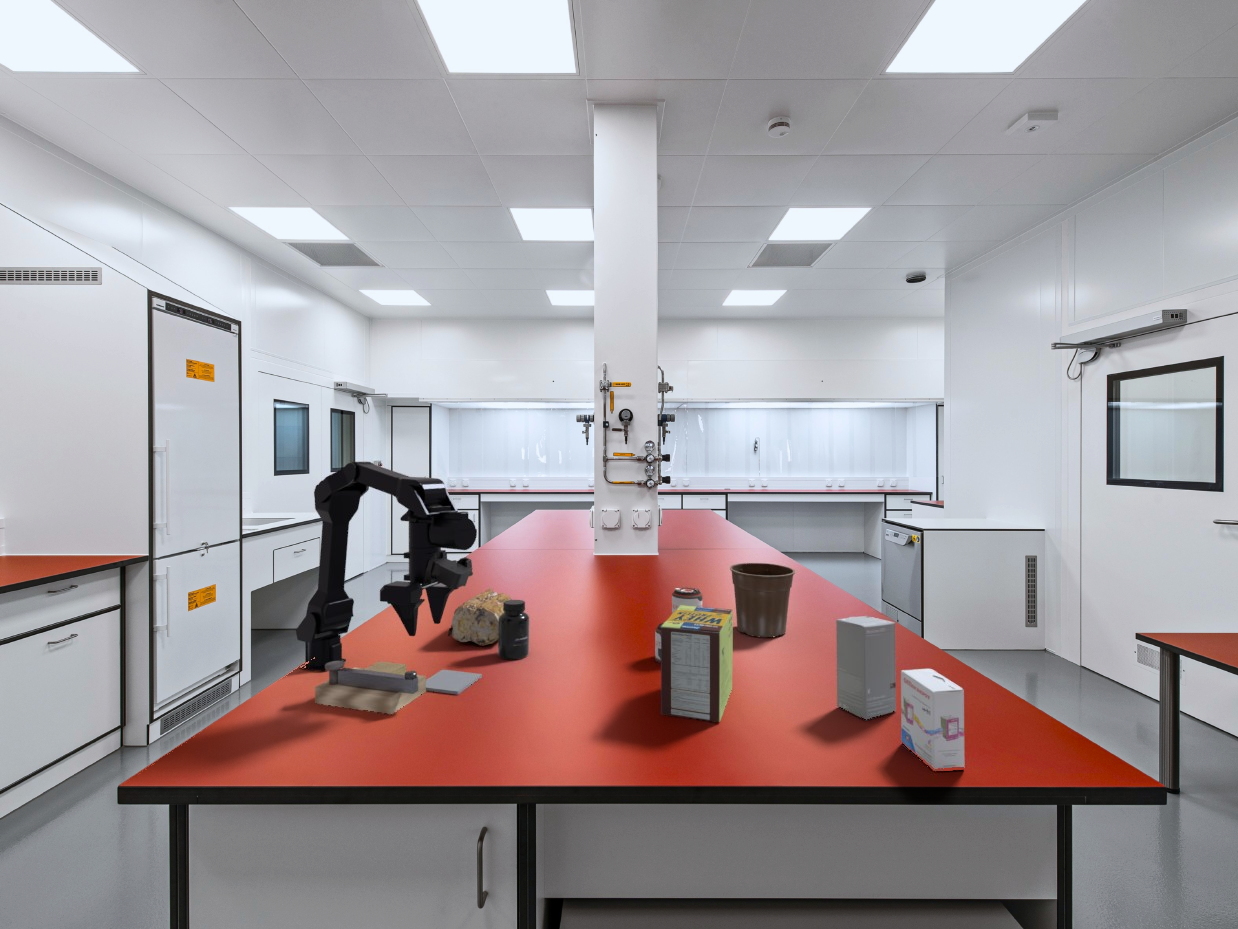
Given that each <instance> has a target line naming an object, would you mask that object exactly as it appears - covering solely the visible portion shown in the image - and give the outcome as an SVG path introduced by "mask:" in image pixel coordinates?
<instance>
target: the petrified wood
mask: <svg viewBox="0 0 1238 929" xmlns="http://www.w3.org/2000/svg"><path fill="white" fill-rule="evenodd" d="M508 600H513V599H512V597H511V596H510V595H507V594H505V593H504V592H502V593H498V592H497V591H494V589H493V588H489V589H486V590H485V591H484V592H480V593H479V594H476V595H474V597H472V598H470V599H468V600H466V601H464V602H463V603H462V604H461V605H459V606H458V607H457V608H456V609H455V610H454V612H453V616H452V618H451V619H452V620H451V623H450V624H451V625H450V628H449V629H448V633H447V634H448V635H447V637H449V636H451V637H452V638H453V639H454V641H455V640H456V641H459V642H460V643H467V642H473V643H475V644H478V646H486V645H491V644H493V643H494V642H496V641H497V642H498V627H499V617H500V615H501V614H503V613H504V611H503V603H504V602H505V601H508Z"/></svg>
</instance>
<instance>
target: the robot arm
mask: <svg viewBox="0 0 1238 929" xmlns="http://www.w3.org/2000/svg"><path fill="white" fill-rule="evenodd" d="M370 488H372V489H375V490H377V491H381V492H383V493H385V494H388V495H390V496H393V497H394V498H396V501H397V503H398V504H399V505H401V506H403V507H404V508H406V509H407V511H406V512H405V513H404V514H402V516H401V517H400V518H399V519H400V521H401V522H408V551H405V552H403V559H408V573H406V574H403V581H401V580H395V581H392V582H389V583H387V584H386V583H385V584H383V586H382V587H381V588H380V589H379V601H380V602H384V603H386V602H387V604H388V605H391V607H392V608H393V610H394V611H395V612H396V615H397V616H398V618H399V620H400V621H401V623H402V625H403V627H404V629H405V630H406V632H407V635H408V636H410V637H415V636H416V633H417V627H418V616H419V608H420V607H421V606H422V604H423V603H424V602H425V601H426V599H424V598H422V596H423V590H425V592H426V597H427V600H428V604H429V610H430V614H431V617H432V621H433V624H435V625H438V624H441V621H442V618H443V614H444V612H445V609H446V606H447V605H446V604H447V602H448V599H449V597H450V595H451V594H452V593H453V592H454V591H455V590H458V589H459V588H461V587H466V585H467V582H468V579H469V577H472V576H473V575H474V572H473V569H474V568H473V563H472V559H470V558H469V557H467V556H466V557H462V558H459V559H458V560H450V559H449V558H448V553H447V552H446V550H445V549H449V550H459V551H467V550H469V549H471V548H472V547H473V546H474V544H475V542H476V539H477V534H478V532H477V531H478V530H477V528H476V525H475V522H474V521H473V520H472V519H471V518H469V512H468V511H464V510H463V511H459V509H458V508H457V507H456V504H455V502H454V501H453V500H452V497H451V496H450V494H449V492H448V490H447V488H446V486H445V482H444V481H443V480H442V479H440V478H436V477H435V478H434V477H424V476H423V477H422V476H409V475H406V474H404V473H401V472H397V471H394V470H393V469H392V470H391V469H390V468H389V469H388V468H386V467H382V466H380V465H377V464H375V463H373V462H372V461H351V462H348V463H347V464H345V465H344V466H343V467H342V468H341V469H339V470H337V471H335V472H333V473H331V474H329V475H328V476H326V477H324V479H323V480H321V481H319V483H318V484H316V485H315V488H314V491H313V497H314V509H315V511H316V513H317V514H318V516H319V518H320V519H321V521H322V522H321V524H322V527H321V540H320V552H319V553H320V554H319V565H318V566H319V568H318V582H317V588H316V589H317V590H316V591H315V593H313V596H312V597H311V598H310V600H309V601H308V604H307V607H306V612H305V613H306V614H305V617H304V618H303V619H302V621H301V622H300V623H299V625H298V626H297V627H296V629H295V634H296V639H297V640H298V641H300V642H304V643H305V647H304V648H305V651H304V652H305V654H304V656H305V659H304V660H305V663H306V662H308V661H309V663H308V664H306V665H305V666H306V668H304V667H305V666H303V667H302V668H304V669H302V668H299V669H300V670H301V669H302V670H309V671H315V670H316V671H317V672H327V670H325V664H326V663H329V662H332V661H343V662H344V663H345V662H346V661H347V659H346V658H344V657H343V646H342V645H343V643H342V641H341V640H342V638H341V637H342V636H341V635H342V634H347V633H348V632H349V627H350V623H351V620H352V618H353V617H354V604H355V600H354V599H353V597H350V596H349V595H348V593H347V591H346V590H345V580H346V570H347V569H346V567H347V566H346V565H347V557H348V555H347V554H348V553H347V552H348V544H349V543H348V542H349V527H350V522H351V520H352V519H353V518H354V516H355V515H356V513H357V512H358V510H359V507H360V506H359V505H360V502H361V501H360V500H361V498H362V497H363V496H364V495H365V494H366V493H368V491H369V489H370ZM314 657H315V659H313V658H314ZM311 659H312V660H311ZM305 663H304V664H305ZM302 665H303V664H301V665H299V666H298V667H300V666H302Z"/></svg>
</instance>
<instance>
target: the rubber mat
mask: <svg viewBox="0 0 1238 929" xmlns="http://www.w3.org/2000/svg"><path fill="white" fill-rule="evenodd" d="M482 677H483V674H482V673H475V672H469V671H467V672H466V671H458V670H450V669H441V670H439V671H438V672H436V673H435V674H433V675H432V676H430V677H429V678H426V692H433V691H434V693H442V694H450V695H456V696H457V695H459V694H461V693H462V692H464V691H465V690H467V689H468V688H469V687H471V686H472V685H474V682H475V681H476V682H477V681H478V679H479V678H480V679H482ZM480 679H479V680H480ZM476 682H475V683H476ZM471 684H472V685H471Z"/></svg>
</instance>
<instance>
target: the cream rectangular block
mask: <svg viewBox="0 0 1238 929" xmlns="http://www.w3.org/2000/svg"><path fill="white" fill-rule="evenodd" d="M342 668H345V662H343V661H332V662H329V663H326V664H325V670H326V671H328V680H326V681H325V682H323V683H320V684H318V685H316V686H315V687H314V704H315V703H317V704H316V705H321V704H323V705H322V706H328V705H331V706H330V707H335V706H340V707H339V708H342V707H344V708H343V709H349V708H351V710H356V709H358V710H357V711H363V710H368V711H367V712H370V711H374V712H373V713H377V712H382V713H381V714H384V713H387V715H391V714H392V715H393V714H395V713H396V712H398V711H399V710H401V709H403V708H404V707H405V706H407V705H409V704H410V703H411V702H413V701H414V700H416V699H417V698H419V697H420V696H422V695H424V694H425V693H427V691H426V680H427V676H426V675H419V674H417V676H418V691H417V692H415V693H414V694H409V693H401V692H393V691H386V690H378V689H370V688H363V687H355V686H347V685H340V684H338V670H340V669H342ZM352 669H360V670H363V669H364V668H362V667H353V668H352ZM421 694H422V695H421ZM403 706H404V707H403ZM400 708H401V709H400ZM397 710H398V711H397ZM394 712H395V713H394Z"/></svg>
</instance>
